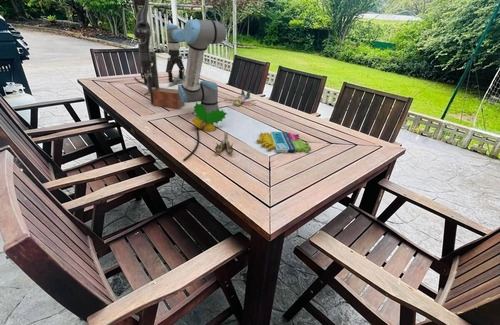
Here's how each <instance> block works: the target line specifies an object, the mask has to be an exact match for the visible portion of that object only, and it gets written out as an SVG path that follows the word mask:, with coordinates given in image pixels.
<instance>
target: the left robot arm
mask: <svg viewBox="0 0 500 325" xmlns="http://www.w3.org/2000/svg"><path fill="white" fill-rule="evenodd" d="M132 4H133V10H134V14H135V20H136V22H135V26H134V29H133V36H134V38H135V39H136V40H139V43H138V46H137V47H138V57H139V64H140V67H141V69H139V72H140V77H141V79H143V81H140V80H139V79H137V78H136V77H135V76H134V80H136V81H137V82H138V83H140V84H142V85H145V86H147V92H150V91H152V90H154V89H157V88H160V83H159V73H158V64H157V63H158V62H157V53H156V52H155V51H150V41H151V40H150V39H151V36H152V30H151V24H150V22H149V21H148V14H149V6H150V5H149V4H150V0H132ZM140 7H141V9H140Z"/></svg>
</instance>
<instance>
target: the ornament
mask: <svg viewBox="0 0 500 325" xmlns="http://www.w3.org/2000/svg"><path fill="white" fill-rule="evenodd" d="M219 110H220V108H219V109H217V110H216V111H214V110H212V112H211V113H208V112H206V109H204V106H201V103H198V102H195V105H194V106H193V112H194V113H195V118H192V119H191V122H192V123H193V125H195V127H196V128H197V127H198V129H202V130H203V131H206V132H212V131H213V132H214V131H215V130H216V126H215V124H218V123H219V122H223V119H226V115H227V114H228V113H227V112H224V110H223V109H221V110H220V111H219ZM207 113H208V115H207ZM204 121H205V122H204ZM214 123H215V124H214Z"/></svg>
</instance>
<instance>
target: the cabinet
mask: <svg viewBox="0 0 500 325" xmlns="http://www.w3.org/2000/svg"><path fill="white" fill-rule="evenodd" d="M152 94H153V102H154V104H153V106H154V107H161V108H169V109H175V110H179V109H181V108H182V107H184V106H185V103H183V102H182V101H181V99H180V96H179V92H178V89H175V88H167V87H159V88H157V89H155V90H152Z"/></svg>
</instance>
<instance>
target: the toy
mask: <svg viewBox="0 0 500 325" xmlns="http://www.w3.org/2000/svg"><path fill="white" fill-rule="evenodd" d="M240 92H241V93H240V95H238V96H237V97H235V99H233V98H230V99H228V98H227V97H226V96H225V97H224V98H223V101H224V102H233V103H232V104H233V105H235V106H242V103H243V104H247V105H252V106H255V105H256V104H257V103H256V102H254V101H253V100H252V101H251V102H250V101H248V100H246V99H248V98H250V97H251V90H250V89H249V90H248V91H247V92H246V93H245V91H244V89H242V90H241V91H240Z"/></svg>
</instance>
